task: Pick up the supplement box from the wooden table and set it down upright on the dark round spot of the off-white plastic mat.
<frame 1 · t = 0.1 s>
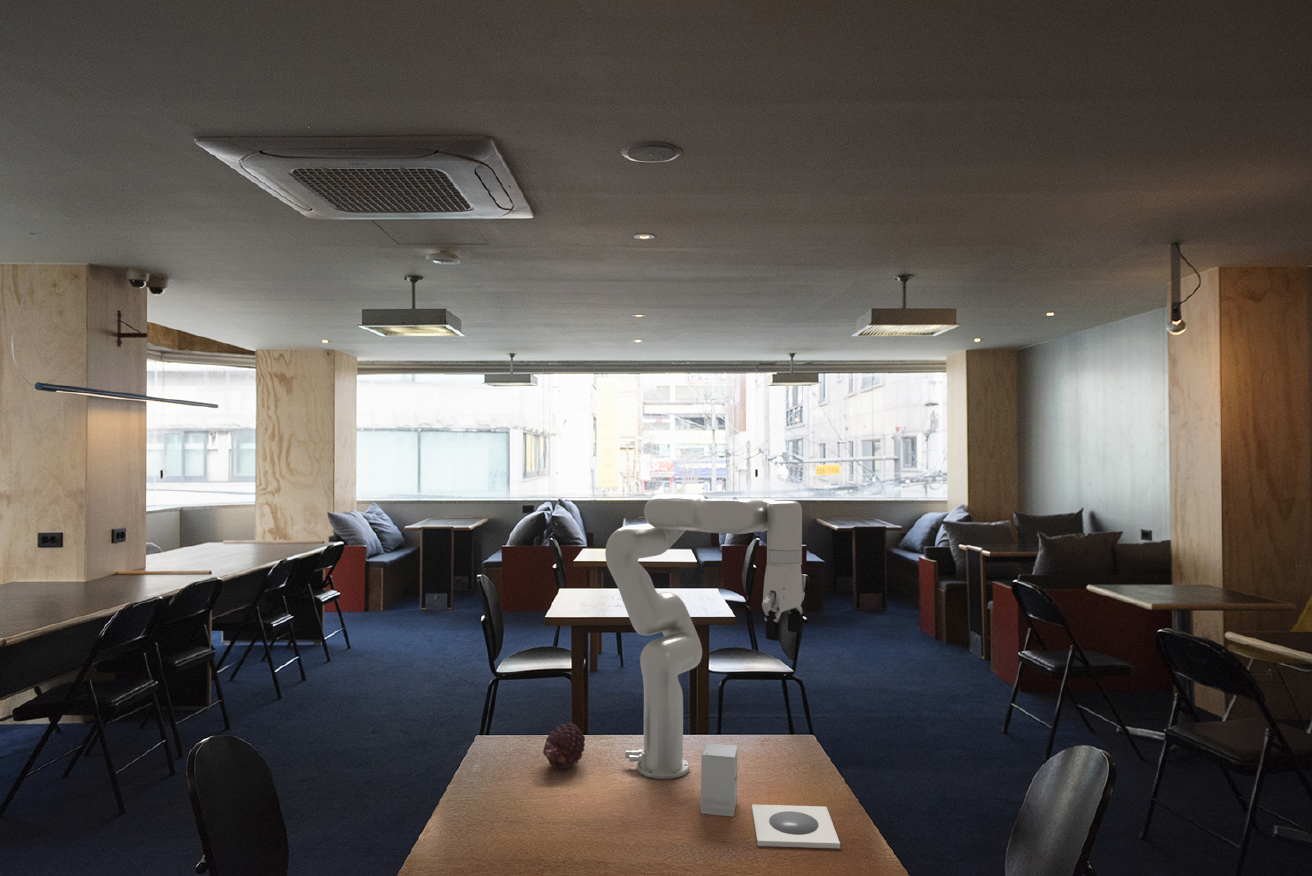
hand: (783, 635, 174), 37 cm above the table, tool pointing down, fingers open, 9 cm apart
supplement box: (719, 809, 172), on the table
pine cone: (565, 766, 195), on the table
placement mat: (793, 827, 164), on the table
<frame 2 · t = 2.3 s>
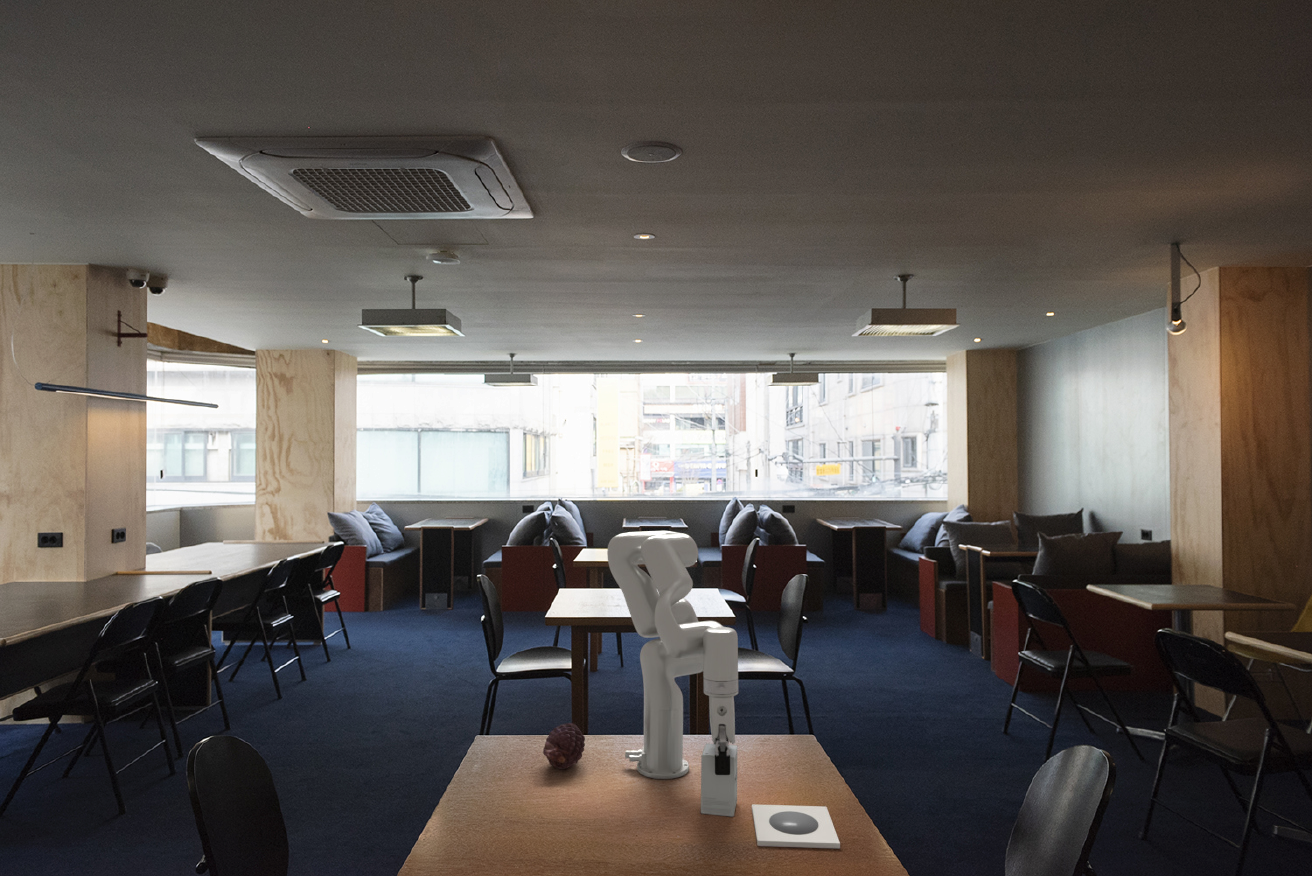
hand: (721, 766, 172), 9 cm above the table, tool pointing down, fingers open, 9 cm apart
supplement box: (719, 809, 172), on the table, touching gripper
everything else where it was.
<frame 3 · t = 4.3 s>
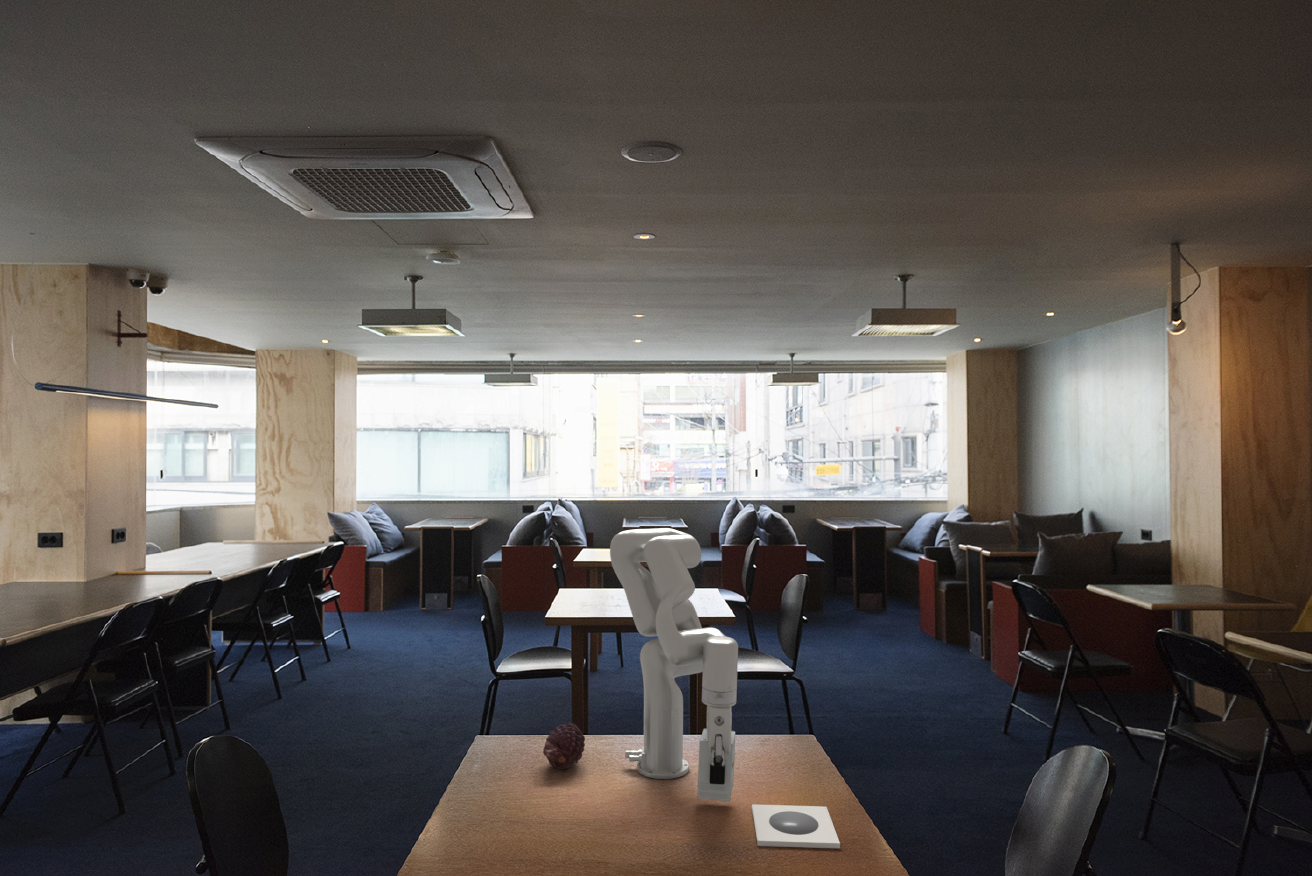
hand: (716, 774, 173), 7 cm above the table, tool pointing down, fingers closed on supplement box, 7 cm apart
supplement box: (715, 793, 174), point 3 cm above the table, touching gripper
everything else where it was.
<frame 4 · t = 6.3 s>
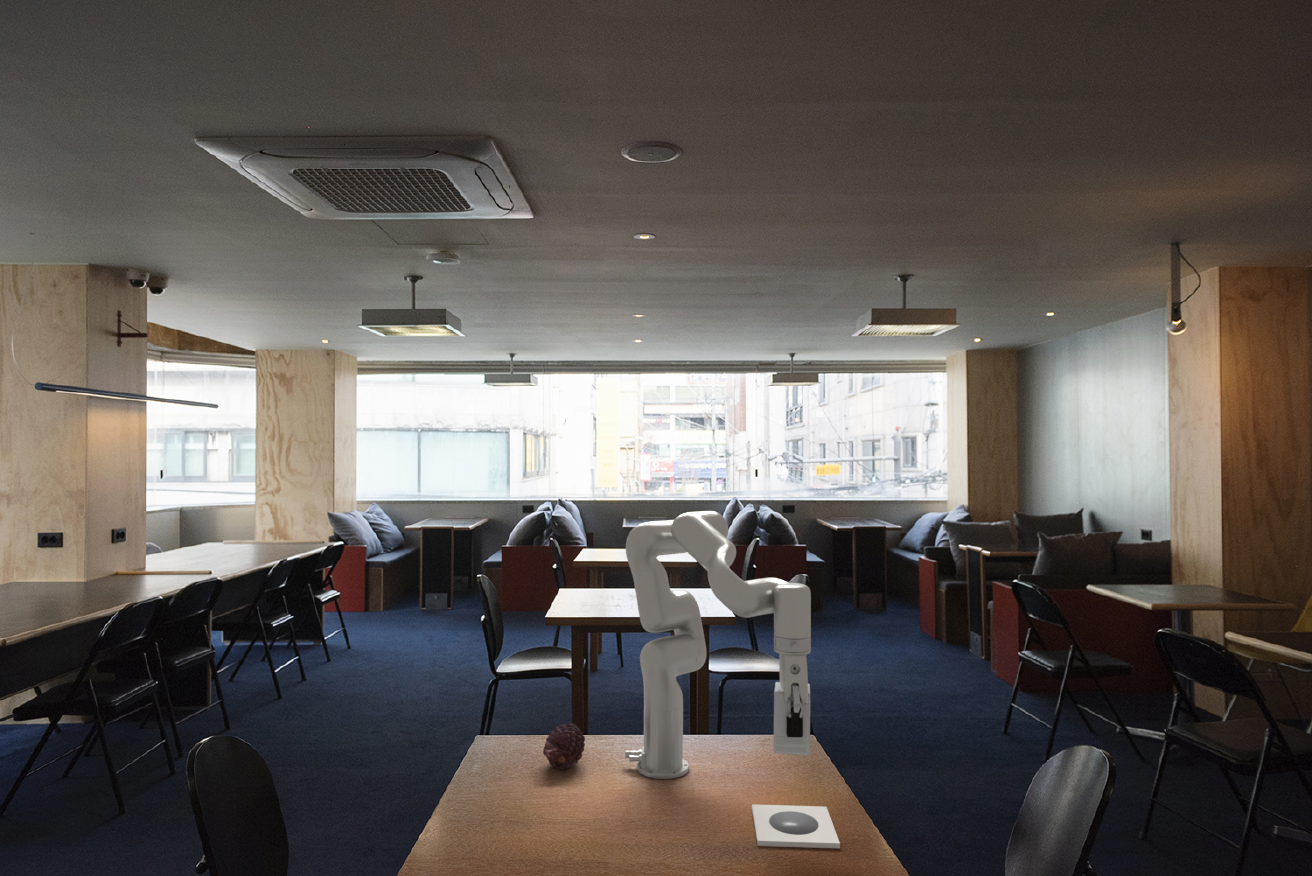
hand: (792, 729, 164), 20 cm above the table, tool pointing down, fingers closed on supplement box, 7 cm apart
supplement box: (791, 749, 164), point 16 cm above the table, touching gripper
everything else where it was.
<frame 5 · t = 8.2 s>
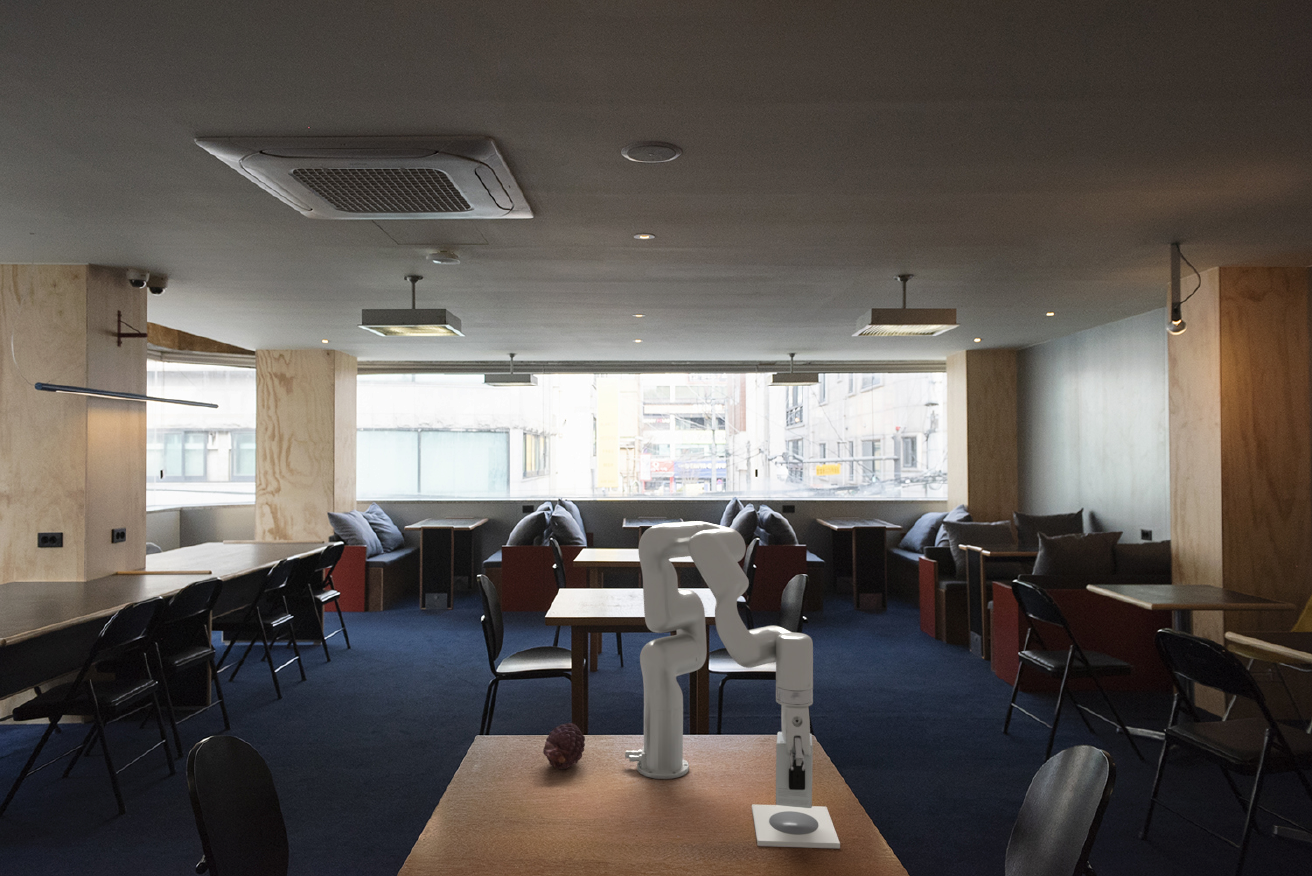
hand: (794, 780, 164), 10 cm above the table, tool pointing down, fingers closed on supplement box, 7 cm apart
supplement box: (794, 800, 164), point 6 cm above the table, touching gripper
everything else where it was.
when the fingers open (6 cm above the table, at t = 9.5 s): supplement box drops 1 cm, resting on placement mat.
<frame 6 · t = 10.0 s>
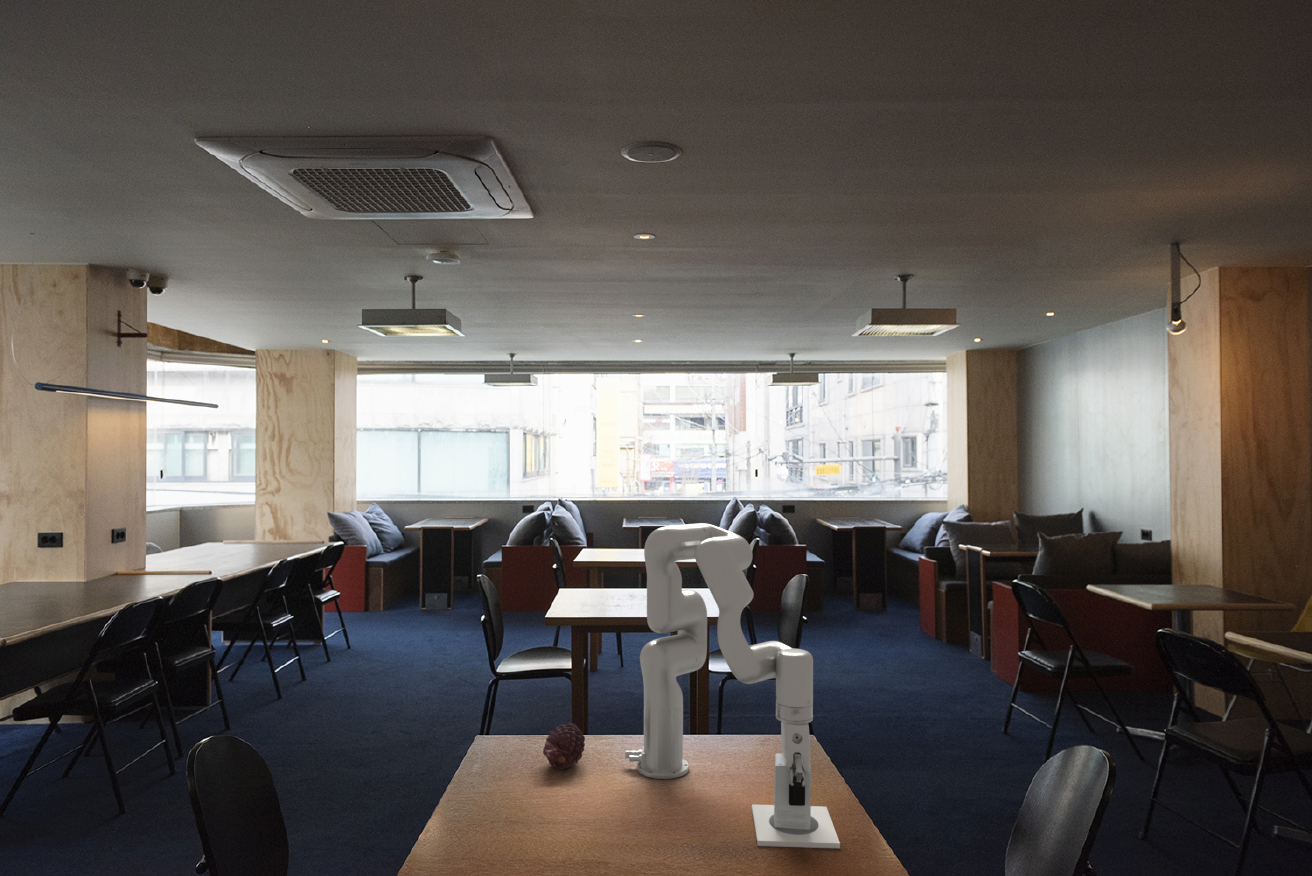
hand: (793, 794, 164), 7 cm above the table, tool pointing down, fingers open, 9 cm apart
supplement box: (792, 822, 164), point 1 cm above the table, touching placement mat
everything else where it was.
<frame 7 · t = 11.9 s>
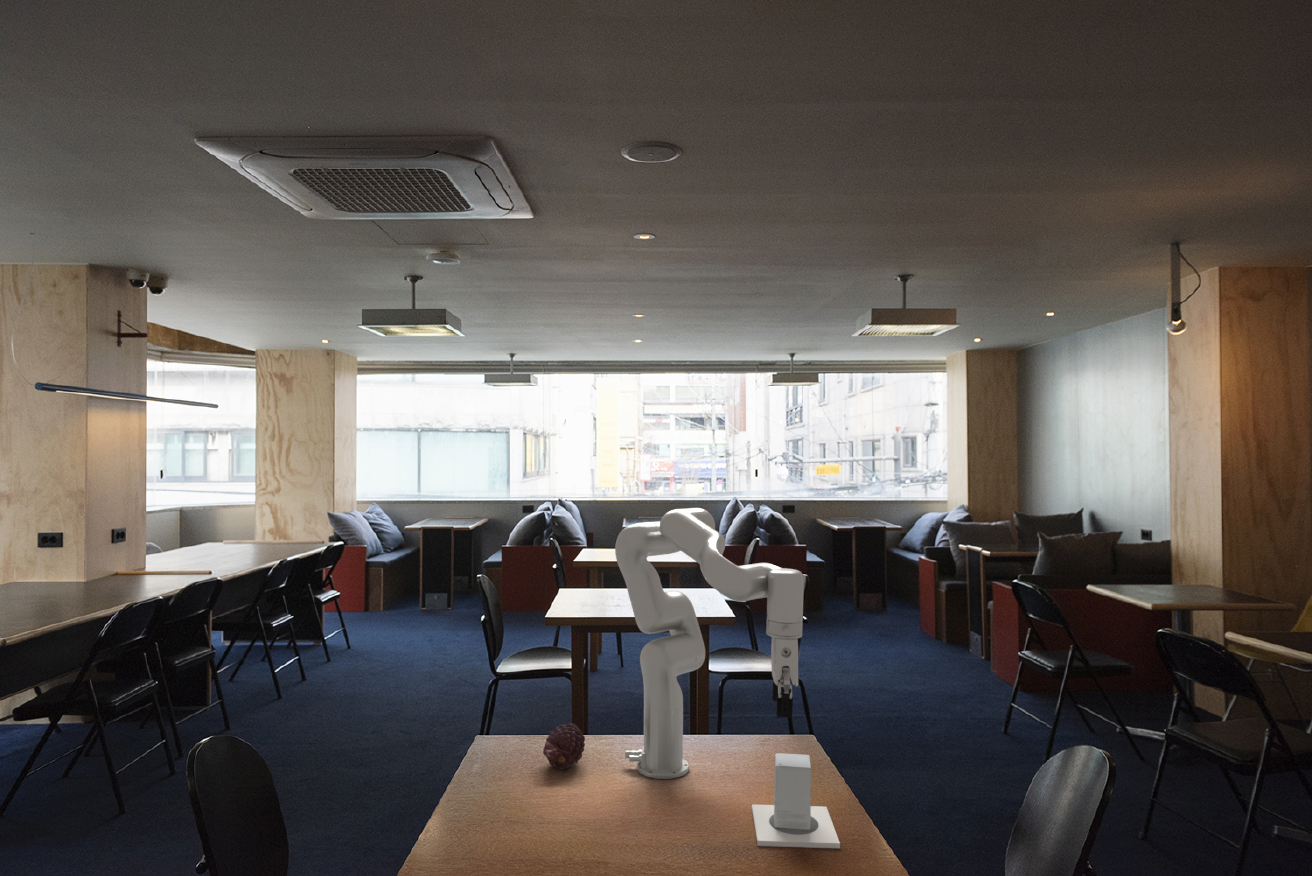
hand: (781, 708, 168), 23 cm above the table, tool pointing down, fingers open, 9 cm apart
nothing on the table moved.
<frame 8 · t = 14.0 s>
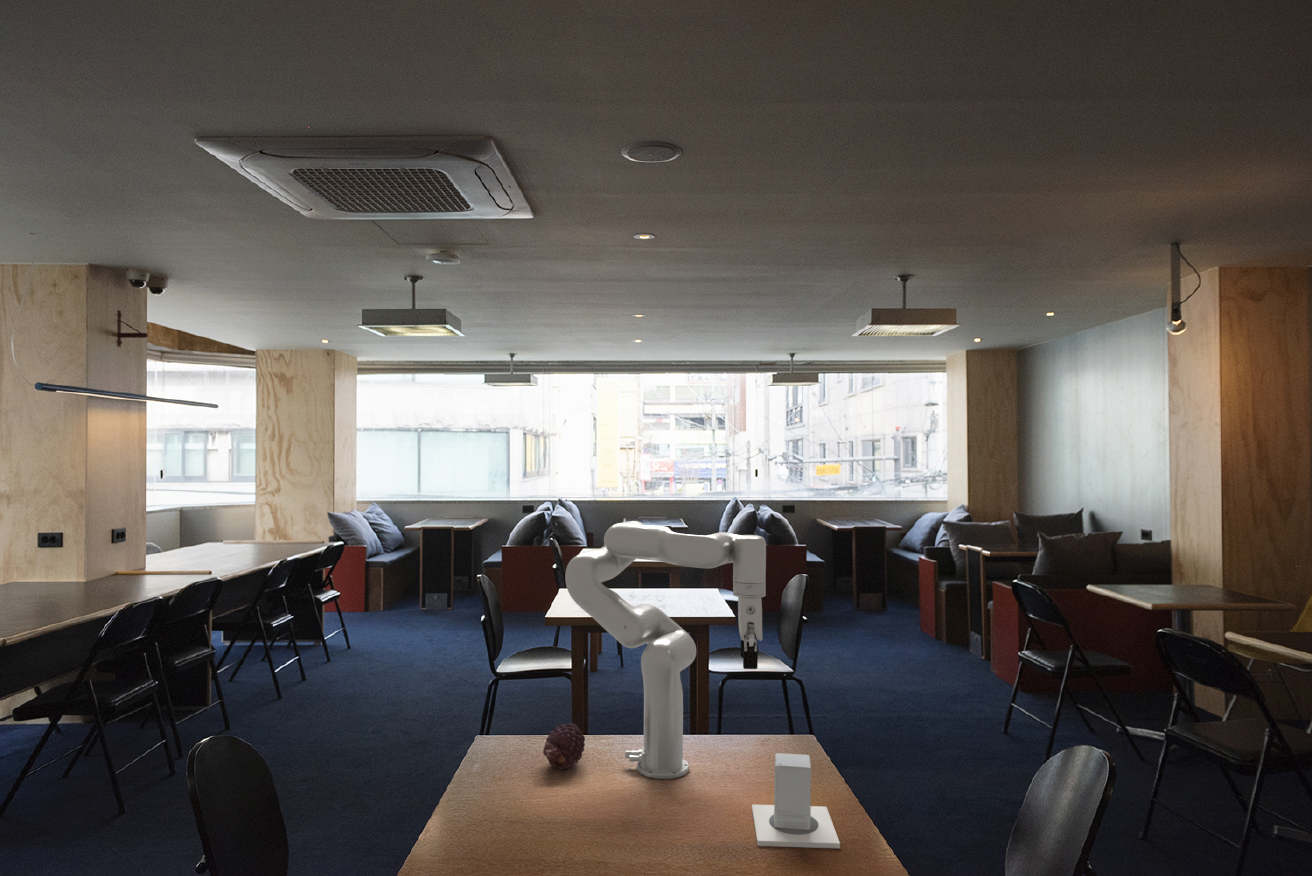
hand: (748, 662, 184), 28 cm above the table, tool pointing down, fingers open, 9 cm apart
nothing on the table moved.
at the end: supplement box inside the target area on the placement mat (0.5 cm from its centre), point 0.9 cm above the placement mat's base; supplement box tilted 0°; the gripper is holding nothing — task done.
